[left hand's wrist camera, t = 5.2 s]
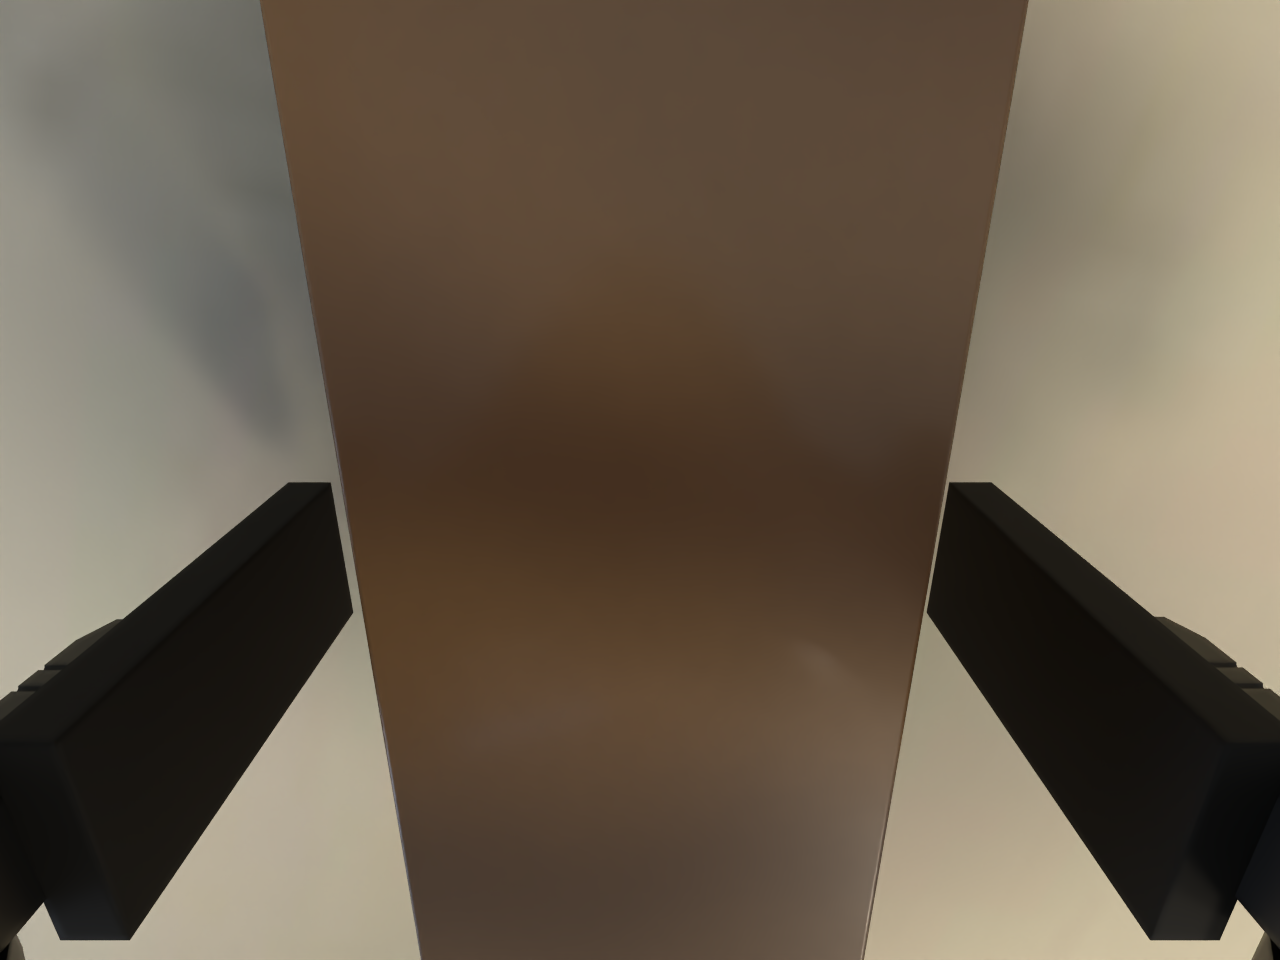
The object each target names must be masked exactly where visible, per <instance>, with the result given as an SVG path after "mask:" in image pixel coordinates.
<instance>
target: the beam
mask: <svg viewBox="0 0 1280 960" xmlns="http://www.w3.org/2000/svg"><path fill="white" fill-rule="evenodd" d="M1028 1H1029V0H260V4H261V10H262V16H263V22H264V28H265V34H266V40H267V46H268V52H269V58H270V63H271V69H272V75H273V81H274V87H275V93H276V99H277V105H278V111H279V117H280V123H281V129H282V135H283V141H284V147H285V153H286V159H287V165H288V171H289V177H290V183H291V188H292V194H293V200H294V206H295V212H296V218H297V224H298V230H299V236H300V242H301V248H302V254H303V260H304V266H305V272H306V278H307V284H308V290H309V296H310V302H311V307H312V313H313V319H314V325H315V331H316V337H317V343H318V349H319V355H320V361H321V367H322V373H323V379H324V385H325V391H326V397H327V403H328V409H329V415H330V421H331V426H332V432H333V438H334V444H335V450H336V456H337V462H338V468H339V474H340V480H341V486H342V492H343V498H344V504H345V510H346V516H347V522H348V528H349V534H350V540H351V546H352V551H353V557H354V563H355V569H356V575H357V581H358V587H359V593H360V599H361V605H362V611H363V617H364V623H365V629H366V635H367V641H368V647H369V653H370V659H371V665H372V670H373V676H374V682H375V688H376V694H377V700H378V706H379V712H380V718H381V724H382V730H383V736H384V742H385V748H386V754H387V760H388V766H389V772H390V778H391V784H392V789H393V795H394V801H395V807H396V813H397V819H398V825H399V831H400V837H401V843H402V849H403V855H404V861H405V867H406V873H407V879H408V885H409V891H410V897H411V903H412V908H413V914H414V920H415V926H416V932H417V938H418V944H419V950H420V956H421V960H864V955H865V949H866V943H867V938H868V932H869V926H870V920H871V914H872V909H873V903H874V897H875V891H876V885H877V879H878V874H879V868H880V862H881V856H882V850H883V845H884V839H885V833H886V827H887V821H888V815H889V810H890V804H891V798H892V792H893V786H894V781H895V775H896V769H897V763H898V757H899V751H900V746H901V740H902V734H903V728H904V722H905V717H906V711H907V705H908V699H909V693H910V687H911V682H912V676H913V670H914V664H915V658H916V653H917V647H918V641H919V635H920V629H921V623H922V618H923V612H924V606H925V600H926V594H927V589H928V583H929V577H930V571H931V565H932V559H933V554H934V548H935V542H936V536H937V530H938V525H939V519H940V513H941V507H942V501H943V495H944V490H945V484H946V478H947V472H948V466H949V461H950V455H951V449H952V443H953V437H954V431H955V426H956V420H957V414H958V408H959V402H960V397H961V391H962V385H963V379H964V373H965V367H966V362H967V356H968V350H969V344H970V338H971V333H972V327H973V321H974V315H975V309H976V303H977V298H978V292H979V286H980V280H981V274H982V269H983V263H984V257H985V251H986V245H987V239H988V234H989V228H990V222H991V216H992V210H993V205H994V199H995V193H996V187H997V181H998V175H999V170H1000V164H1001V158H1002V152H1003V146H1004V141H1005V135H1006V129H1007V123H1008V117H1009V111H1010V106H1011V100H1012V94H1013V88H1014V82H1015V77H1016V71H1017V65H1018V59H1019V53H1020V48H1021V42H1022V36H1023V30H1024V24H1025V18H1026V13H1027V7H1028Z"/></svg>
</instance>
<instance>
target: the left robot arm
mask: <svg viewBox="0 0 1280 960" xmlns="http://www.w3.org/2000/svg"><path fill="white" fill-rule="evenodd" d="M352 614H353V608H352V602H351V597H350V591H349V585H348V579H347V574H346V568H345V562H344V556H343V551H342V545H341V539H340V533H339V528H338V522H337V516H336V510H335V505H334V499H333V493H332V487H331V482H289V483H287V484H286V485H285V486H284V487H282V488H281V489H280V490H279V491H278V492H276V493H275V494H274V495H273V496H272V497H270V498H269V499H268V500H267V501H266V502H264V503H263V504H262V505H261V506H259V507H258V508H257V509H256V510H255V511H253V512H252V513H251V514H250V515H249V516H247V517H246V518H245V519H244V520H242V521H241V522H240V523H239V524H238V525H236V526H235V527H234V528H233V529H232V530H230V531H229V532H228V533H227V534H226V535H224V536H223V537H222V538H221V539H219V540H218V541H217V542H216V543H215V544H213V545H212V546H211V547H210V548H209V549H207V550H206V551H205V552H204V553H203V554H201V555H200V556H199V557H198V558H196V559H195V560H194V561H193V562H192V563H190V564H189V565H188V566H187V567H186V568H184V569H183V570H182V571H181V572H180V573H178V574H177V575H176V576H175V577H173V578H172V579H171V580H170V581H169V582H167V583H166V584H165V585H164V586H163V587H161V588H160V589H159V590H158V591H157V592H155V593H154V594H153V595H152V596H150V597H149V598H148V599H147V600H146V601H144V602H143V603H142V604H141V605H140V606H138V607H137V608H136V609H135V610H134V611H132V612H131V613H130V614H129V615H127V616H126V617H125V618H124V619H117V620H115V621H113V622H111V623H109V624H107V625H105V626H103V627H101V628H99V629H97V630H95V631H93V632H91V633H89V634H87V635H85V636H83V637H82V638H80V639H78V640H76V641H74V642H73V643H72V644H71V645H69V646H68V647H67V648H66V649H64V650H63V651H62V652H61V653H59V654H58V655H57V656H56V657H54V658H53V659H52V660H51V661H49V662H48V663H47V664H45V668H44V670H38V671H37V672H35V673H34V674H33V675H32V676H30V677H29V678H28V679H27V680H25V681H24V682H23V683H22V684H20V685H19V686H18V691H17V692H10V693H9V694H8V695H6V696H5V697H4V698H3V699H1V700H0V960H25V957H24V952H23V948H22V945H21V943H20V941H19V939H18V937H17V933H18V932H19V931H20V930H21V928H22V927H23V926H24V925H25V924H26V922H27V921H28V920H29V919H30V918H31V916H32V915H33V914H34V913H35V912H36V910H37V909H38V908H39V907H40V906H41V905H42V903H43V902H44V904H45V906H46V909H47V911H48V913H49V916H50V918H51V920H52V922H53V925H54V927H55V929H56V931H57V934H58V936H59V938H60V940H130V939H131V938H132V936H133V935H134V933H135V932H136V930H137V929H138V927H139V926H140V924H141V923H142V922H143V920H144V919H145V917H146V916H147V914H148V913H149V911H150V910H151V908H152V907H153V905H154V904H155V902H156V901H157V900H158V898H159V897H160V895H161V894H162V892H163V891H164V889H165V888H166V886H167V885H168V883H169V882H170V880H171V879H172V878H173V876H174V875H175V873H176V872H177V870H178V869H179V867H180V866H181V864H182V863H183V861H184V860H185V858H186V857H187V856H188V854H189V853H190V851H191V850H192V848H193V847H194V845H195V844H196V842H197V841H198V839H199V838H200V836H201V835H202V834H203V832H204V831H205V829H206V828H207V826H208V825H209V823H210V822H211V820H212V819H213V817H214V816H215V814H216V813H217V812H218V810H219V809H220V807H221V806H222V804H223V803H224V801H225V800H226V798H227V797H228V795H229V794H230V793H231V791H232V790H233V788H234V787H235V785H236V784H237V782H238V781H239V779H240V778H241V776H242V775H243V773H244V772H245V771H246V769H247V768H248V766H249V765H250V763H251V762H252V760H253V759H254V757H255V756H256V754H257V753H258V751H259V750H260V749H261V747H262V746H263V744H264V743H265V741H266V740H267V738H268V737H269V735H270V734H271V732H272V731H273V729H274V728H275V727H276V725H277V724H278V722H279V721H280V719H281V718H282V716H283V715H284V713H285V712H286V710H287V709H288V707H289V706H290V705H291V703H292V702H293V700H294V699H295V697H296V696H297V694H298V693H299V691H300V690H301V688H302V687H303V685H304V684H305V683H306V681H307V680H308V678H309V677H310V675H311V674H312V672H313V671H314V669H315V668H316V666H317V665H318V664H319V662H320V661H321V659H322V658H323V656H324V655H325V653H326V652H327V650H328V649H329V647H330V646H331V644H332V643H333V642H334V640H335V639H336V637H337V636H338V634H339V633H340V631H341V630H342V628H343V627H344V625H345V624H346V622H347V621H348V620H349V618H350V617H351V615H352ZM927 614H928V615H929V617H930V618H931V620H932V621H933V622H934V624H935V625H936V627H937V628H938V630H939V631H940V633H941V634H942V636H943V637H944V639H945V640H946V642H947V643H948V644H949V646H950V647H951V649H952V650H953V652H954V653H955V655H956V656H957V658H958V659H959V661H960V662H961V664H962V665H963V666H964V668H965V669H966V671H967V672H968V674H969V675H970V677H971V678H972V680H973V681H974V683H975V684H976V686H977V687H978V688H979V690H980V691H981V693H982V694H983V696H984V697H985V699H986V700H987V702H988V703H989V705H990V706H991V708H992V709H993V710H994V712H995V713H996V715H997V716H998V718H999V719H1000V721H1001V722H1002V724H1003V725H1004V727H1005V728H1006V729H1007V731H1008V732H1009V734H1010V735H1011V737H1012V738H1013V740H1014V741H1015V743H1016V744H1017V746H1018V747H1019V749H1020V750H1021V751H1022V753H1023V754H1024V756H1025V757H1026V759H1027V760H1028V762H1029V763H1030V765H1031V766H1032V768H1033V769H1034V771H1035V772H1036V773H1037V775H1038V776H1039V778H1040V779H1041V781H1042V782H1043V784H1044V785H1045V787H1046V788H1047V790H1048V791H1049V793H1050V794H1051V795H1052V797H1053V798H1054V800H1055V801H1056V803H1057V804H1058V806H1059V807H1060V809H1061V810H1062V812H1063V813H1064V815H1065V816H1066V817H1067V819H1068V820H1069V822H1070V823H1071V825H1072V826H1073V828H1074V829H1075V831H1076V832H1077V834H1078V835H1079V837H1080V838H1081V839H1082V841H1083V842H1084V844H1085V845H1086V847H1087V848H1088V850H1089V851H1090V853H1091V854H1092V856H1093V857H1094V858H1095V860H1096V861H1097V863H1098V864H1099V866H1100V867H1101V869H1102V870H1103V872H1104V873H1105V875H1106V876H1107V878H1108V879H1109V880H1110V882H1111V883H1112V885H1113V886H1114V888H1115V889H1116V891H1117V892H1118V894H1119V895H1120V897H1121V898H1122V900H1123V901H1124V902H1125V904H1126V905H1127V907H1128V908H1129V910H1130V911H1131V913H1132V914H1133V916H1134V917H1135V919H1136V920H1137V922H1138V923H1139V924H1140V926H1141V927H1142V929H1143V930H1144V932H1145V933H1146V935H1147V936H1148V938H1149V939H1150V940H1220V938H1221V936H1222V934H1223V931H1224V929H1225V927H1226V925H1227V922H1228V920H1229V918H1230V915H1231V913H1232V911H1233V909H1234V906H1235V904H1236V902H1237V899H1238V900H1239V902H1240V903H1241V904H1242V905H1243V906H1244V908H1245V909H1246V910H1247V911H1248V912H1249V913H1250V915H1251V916H1252V917H1253V918H1254V919H1255V921H1256V922H1257V923H1258V924H1259V925H1260V926H1261V928H1262V929H1263V930H1264V931H1265V932H1264V934H1263V937H1262V939H1261V941H1260V943H1259V945H1258V947H1257V949H1256V951H1255V954H1254V956H1253V958H1252V960H1280V697H1279V696H1278V695H1277V694H1276V693H1274V692H1273V691H1272V690H1271V689H1264V688H1263V683H1262V682H1260V681H1259V680H1258V679H1257V678H1255V677H1254V676H1253V675H1252V674H1250V673H1249V672H1248V671H1246V670H1245V669H1244V668H1238V667H1237V665H1236V662H1235V661H1234V660H1233V659H1231V658H1230V657H1229V656H1227V655H1226V654H1225V653H1224V652H1222V651H1221V650H1220V649H1219V648H1217V647H1216V646H1215V645H1214V644H1212V643H1211V642H1210V641H1208V640H1207V639H1206V638H1204V637H1202V636H1200V635H1198V634H1197V633H1195V632H1193V631H1191V630H1189V629H1187V628H1185V627H1183V626H1181V625H1179V624H1177V623H1175V622H1173V621H1171V620H1169V619H1167V618H1165V617H1154V616H1153V615H1151V614H1150V613H1149V612H1148V611H1146V610H1145V609H1144V608H1143V607H1142V606H1140V605H1139V604H1138V603H1137V602H1136V601H1134V600H1133V599H1132V598H1131V597H1130V596H1128V595H1127V594H1126V593H1125V592H1123V591H1122V590H1121V589H1120V588H1119V587H1117V586H1116V585H1115V584H1114V583H1113V582H1111V581H1110V580H1109V579H1108V578H1107V577H1105V576H1104V575H1103V574H1102V573H1100V572H1099V571H1098V570H1097V569H1096V568H1094V567H1093V566H1092V565H1091V564H1090V563H1088V562H1087V561H1086V560H1085V559H1083V558H1082V557H1081V556H1080V555H1079V554H1077V553H1076V552H1075V551H1074V550H1073V549H1071V548H1070V547H1069V546H1068V545H1067V544H1065V543H1064V542H1063V541H1062V540H1060V539H1059V538H1058V537H1057V536H1056V535H1054V534H1053V533H1052V532H1051V531H1050V530H1048V529H1047V528H1046V527H1045V526H1044V525H1042V524H1041V523H1040V522H1039V521H1037V520H1036V519H1035V518H1034V517H1033V516H1031V515H1030V514H1029V513H1028V512H1027V511H1025V510H1024V509H1023V508H1022V507H1021V506H1019V505H1018V504H1017V503H1016V502H1014V501H1013V500H1012V499H1011V498H1010V497H1008V496H1007V495H1006V494H1005V493H1004V492H1002V491H1001V490H1000V489H999V488H998V487H996V486H995V485H994V484H993V483H991V482H949V487H948V493H947V499H946V505H945V510H944V516H943V522H942V528H941V533H940V539H939V545H938V551H937V556H936V562H935V568H934V574H933V579H932V585H931V591H930V597H929V602H928V608H927Z"/></svg>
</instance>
